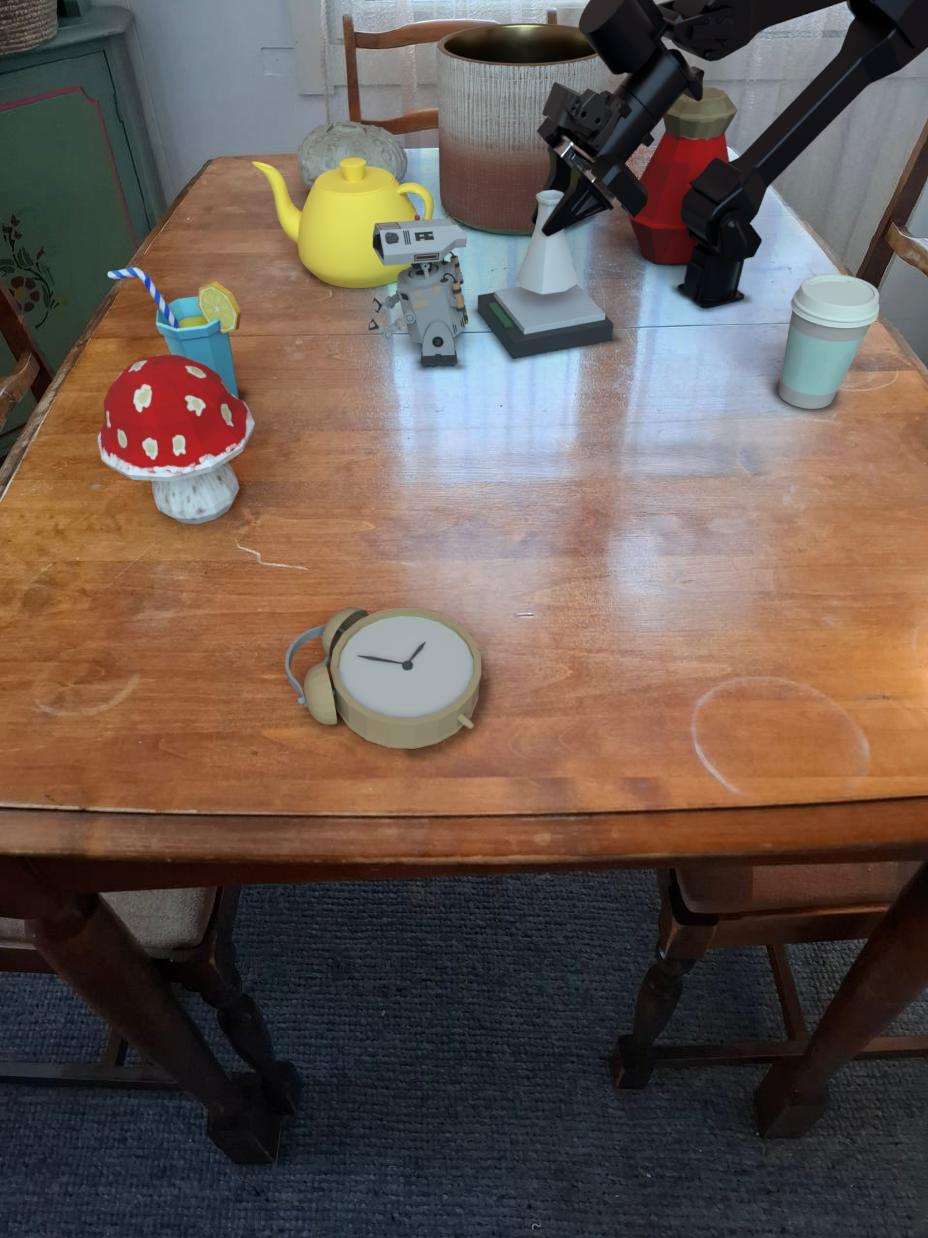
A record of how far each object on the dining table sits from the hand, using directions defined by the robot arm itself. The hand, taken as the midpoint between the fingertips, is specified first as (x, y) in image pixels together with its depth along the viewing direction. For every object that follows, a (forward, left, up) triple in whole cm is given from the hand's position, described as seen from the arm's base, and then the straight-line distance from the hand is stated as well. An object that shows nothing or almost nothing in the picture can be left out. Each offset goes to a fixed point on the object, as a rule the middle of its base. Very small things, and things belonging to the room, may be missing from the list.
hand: (538, 228), depth 92 cm
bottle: (-28, -11, -12) cm, 33 cm away
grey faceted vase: (-1, 0, -7) cm, 7 cm away
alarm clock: (+37, +47, -12) cm, 61 cm away
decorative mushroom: (+46, +18, -12) cm, 50 cm away
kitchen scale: (-1, 0, -12) cm, 12 cm away
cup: (+41, 0, -12) cm, 43 cm away
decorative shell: (+6, -54, -12) cm, 56 cm away
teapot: (+15, -27, -12) cm, 33 cm away
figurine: (+15, -1, -12) cm, 19 cm away
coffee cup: (-20, +27, -12) cm, 36 cm away
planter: (-16, -36, -12) cm, 41 cm away
